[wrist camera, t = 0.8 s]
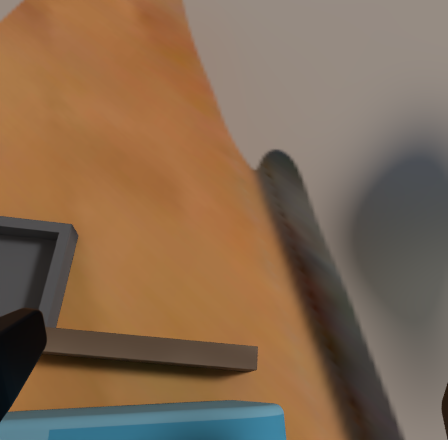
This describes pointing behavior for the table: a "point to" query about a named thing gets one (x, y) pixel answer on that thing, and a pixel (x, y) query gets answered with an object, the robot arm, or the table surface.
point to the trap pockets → (35, 265)
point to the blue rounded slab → (150, 422)
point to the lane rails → (150, 349)
